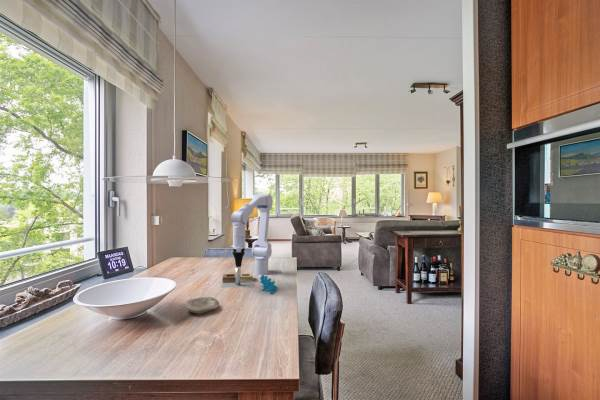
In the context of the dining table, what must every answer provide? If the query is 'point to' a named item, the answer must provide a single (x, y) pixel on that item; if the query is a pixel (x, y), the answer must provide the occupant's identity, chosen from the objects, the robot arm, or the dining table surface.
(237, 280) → the pin
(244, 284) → the board
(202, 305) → the fossil
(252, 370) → the dining table surface
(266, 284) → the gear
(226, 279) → the block walnut
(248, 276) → the block birch
